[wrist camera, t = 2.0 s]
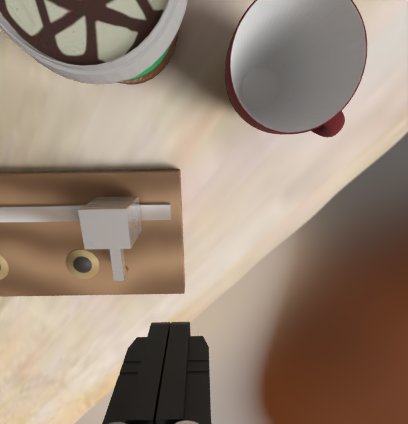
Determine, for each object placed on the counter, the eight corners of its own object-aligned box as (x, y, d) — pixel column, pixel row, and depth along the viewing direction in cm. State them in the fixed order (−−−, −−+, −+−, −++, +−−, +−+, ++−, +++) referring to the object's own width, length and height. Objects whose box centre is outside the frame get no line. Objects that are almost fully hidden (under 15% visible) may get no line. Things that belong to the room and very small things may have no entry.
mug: (341, 84, 24) (430, 55, 15) (291, 159, 26) (342, 177, 17) (246, 19, 23) (279, -60, 13) (202, 105, 25) (202, 91, 15)
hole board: (-52, 173, 27) (-129, 186, 20) (180, 169, 27) (173, 182, 20) (-15, 289, 31) (-69, 329, 25) (185, 285, 31) (180, 325, 25)
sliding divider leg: (97, 196, 25) (77, 209, 21) (138, 196, 25) (126, 209, 21) (108, 270, 28) (92, 294, 24) (145, 269, 28) (135, 293, 24)
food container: (76, 106, 25) (-3, 92, 15) (57, 32, 23) (-47, -37, 13) (202, 88, 24) (203, 62, 15) (193, 12, 22) (188, -75, 13)
